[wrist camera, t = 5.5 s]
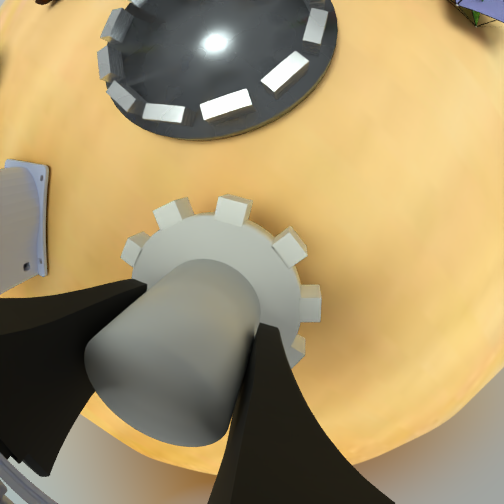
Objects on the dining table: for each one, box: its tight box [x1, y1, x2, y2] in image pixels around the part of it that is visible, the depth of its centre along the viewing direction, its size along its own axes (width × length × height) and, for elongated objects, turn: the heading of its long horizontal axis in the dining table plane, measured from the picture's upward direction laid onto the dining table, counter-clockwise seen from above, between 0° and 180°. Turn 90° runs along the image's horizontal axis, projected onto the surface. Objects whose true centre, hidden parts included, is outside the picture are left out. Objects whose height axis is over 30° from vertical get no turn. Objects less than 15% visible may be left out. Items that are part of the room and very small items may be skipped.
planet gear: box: [84, 194, 321, 447], centre depth 8 cm, size 8×8×6 cm
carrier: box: [97, 0, 338, 141], centre depth 10 cm, size 14×14×2 cm
